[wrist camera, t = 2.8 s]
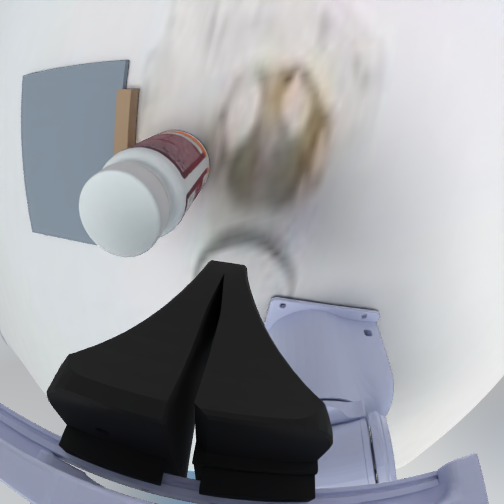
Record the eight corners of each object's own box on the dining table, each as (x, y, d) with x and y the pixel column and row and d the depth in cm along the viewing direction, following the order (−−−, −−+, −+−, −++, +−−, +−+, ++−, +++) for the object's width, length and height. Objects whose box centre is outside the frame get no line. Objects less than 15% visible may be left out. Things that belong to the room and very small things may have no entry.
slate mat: (142, 60, 15) (134, 58, 14) (135, 249, 22) (129, 257, 21) (26, 75, 14) (17, 76, 13) (35, 229, 22) (28, 235, 21)
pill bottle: (135, 140, 18) (57, 177, 10) (201, 121, 17) (149, 145, 10) (153, 204, 20) (94, 270, 13) (218, 191, 19) (183, 259, 12)
